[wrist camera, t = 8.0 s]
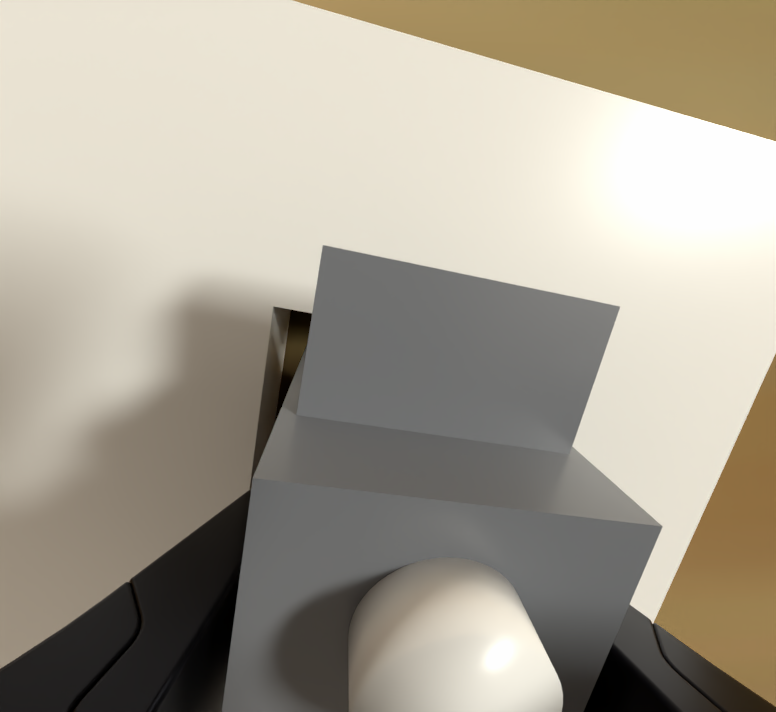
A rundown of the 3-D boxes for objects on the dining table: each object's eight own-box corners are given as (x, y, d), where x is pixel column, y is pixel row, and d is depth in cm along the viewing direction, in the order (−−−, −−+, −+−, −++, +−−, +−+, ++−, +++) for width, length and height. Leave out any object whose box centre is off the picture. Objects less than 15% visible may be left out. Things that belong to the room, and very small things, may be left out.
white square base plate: (538, 669, 15) (585, 772, 12) (67, 643, 12) (-16, 763, 10) (722, 187, 11) (860, 166, 8) (71, 15, 8) (-75, -107, 5)
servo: (412, 653, 11) (485, 1094, 5) (260, 644, 10) (154, 1132, 5) (515, 283, 8) (856, 357, 3) (323, 243, 8) (262, 235, 2)
